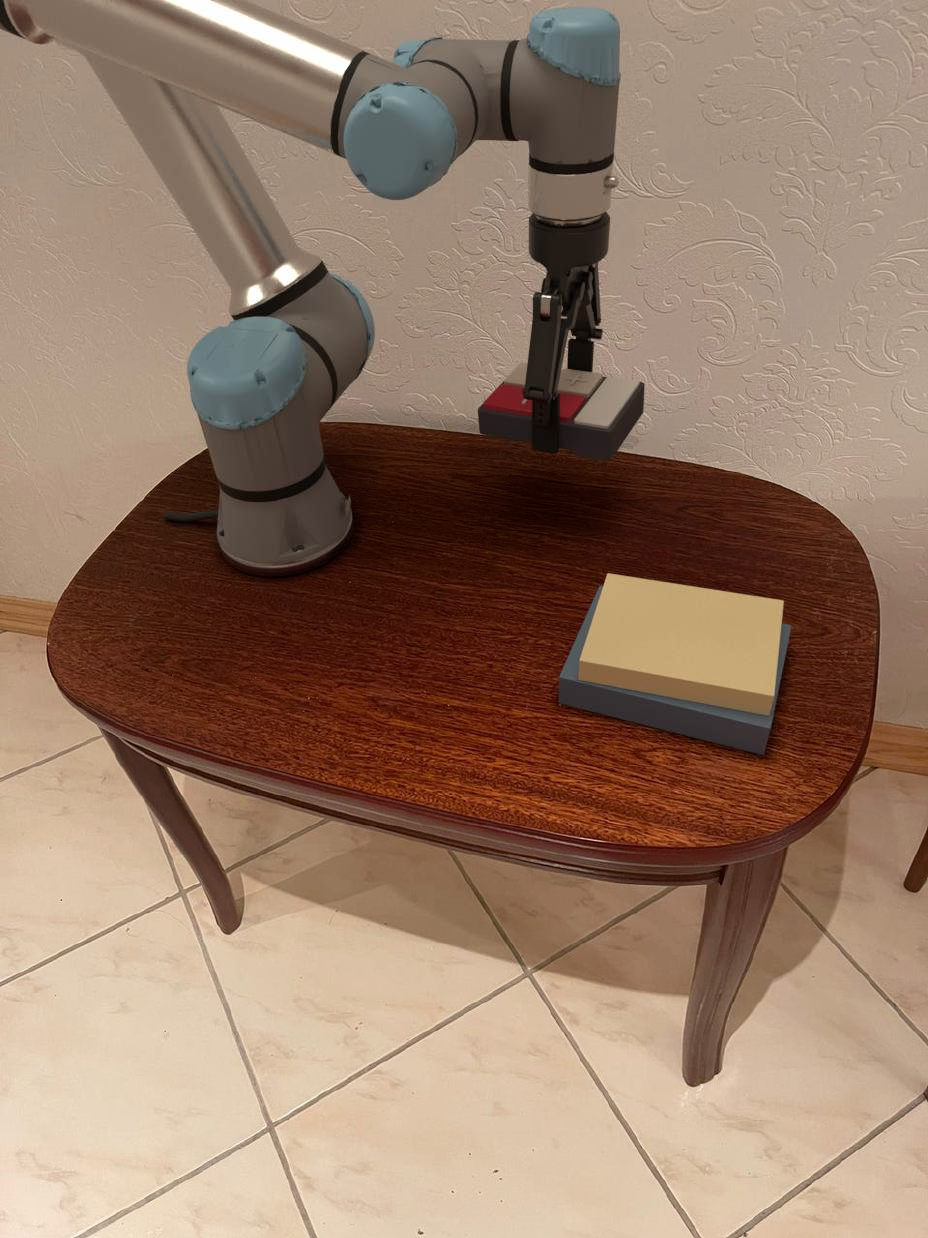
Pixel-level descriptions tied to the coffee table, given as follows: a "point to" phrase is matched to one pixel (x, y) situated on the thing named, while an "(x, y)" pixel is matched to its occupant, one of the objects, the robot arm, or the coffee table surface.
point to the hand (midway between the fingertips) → (562, 421)
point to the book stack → (680, 660)
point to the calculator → (569, 411)
